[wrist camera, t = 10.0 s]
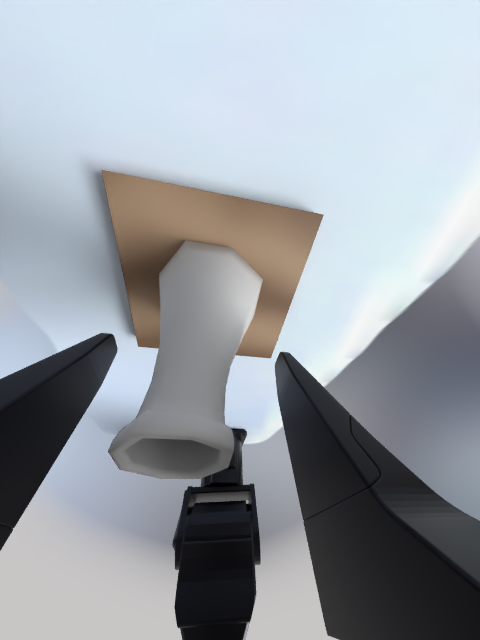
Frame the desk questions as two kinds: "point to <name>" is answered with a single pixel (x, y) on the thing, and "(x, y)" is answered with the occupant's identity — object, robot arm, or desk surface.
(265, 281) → the flat brown panel
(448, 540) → the robot arm
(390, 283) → the desk surface
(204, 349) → the flask
